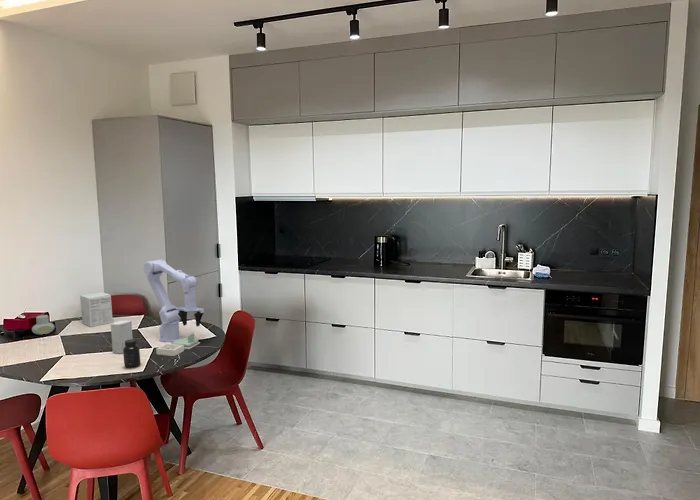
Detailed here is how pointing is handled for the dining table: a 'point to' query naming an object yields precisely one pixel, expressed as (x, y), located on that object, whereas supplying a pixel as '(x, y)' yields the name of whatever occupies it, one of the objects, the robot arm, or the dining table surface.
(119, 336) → the skincare box
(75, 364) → the dining table surface
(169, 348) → the tub
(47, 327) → the air freshener
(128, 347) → the supplement bottle
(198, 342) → the mat
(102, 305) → the supplement box
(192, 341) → the lid
